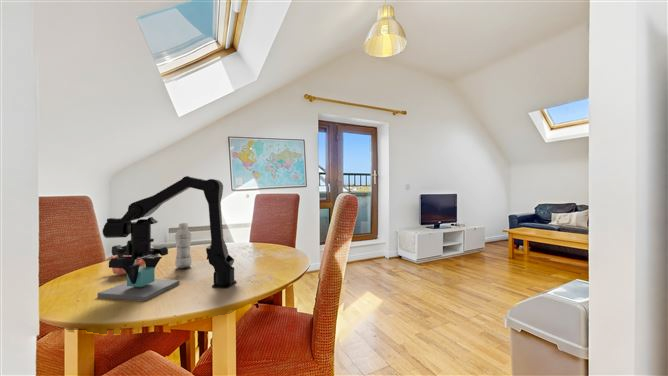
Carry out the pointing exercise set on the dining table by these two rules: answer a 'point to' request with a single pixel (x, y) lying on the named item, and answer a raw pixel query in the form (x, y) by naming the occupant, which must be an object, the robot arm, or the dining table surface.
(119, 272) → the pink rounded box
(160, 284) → the base plate
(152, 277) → the turquoise cube
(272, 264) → the dining table surface
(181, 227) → the plastic bottle
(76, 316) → the dining table surface
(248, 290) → the dining table surface
